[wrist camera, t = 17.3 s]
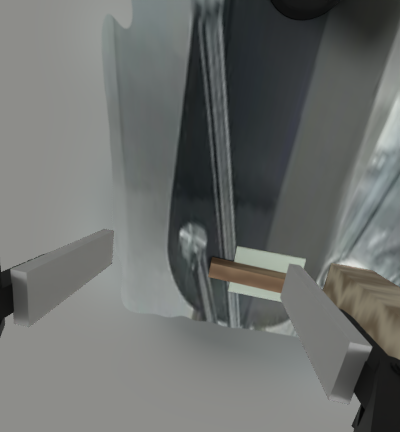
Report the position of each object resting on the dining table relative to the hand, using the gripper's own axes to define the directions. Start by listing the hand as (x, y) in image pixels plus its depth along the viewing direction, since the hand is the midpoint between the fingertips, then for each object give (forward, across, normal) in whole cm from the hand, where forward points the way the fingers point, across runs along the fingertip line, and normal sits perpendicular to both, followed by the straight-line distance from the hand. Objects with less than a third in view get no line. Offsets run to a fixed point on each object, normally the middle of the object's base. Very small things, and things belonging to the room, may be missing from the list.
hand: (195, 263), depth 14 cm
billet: (+31, +12, -15) cm, 36 cm away
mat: (+32, +15, -15) cm, 38 cm away
